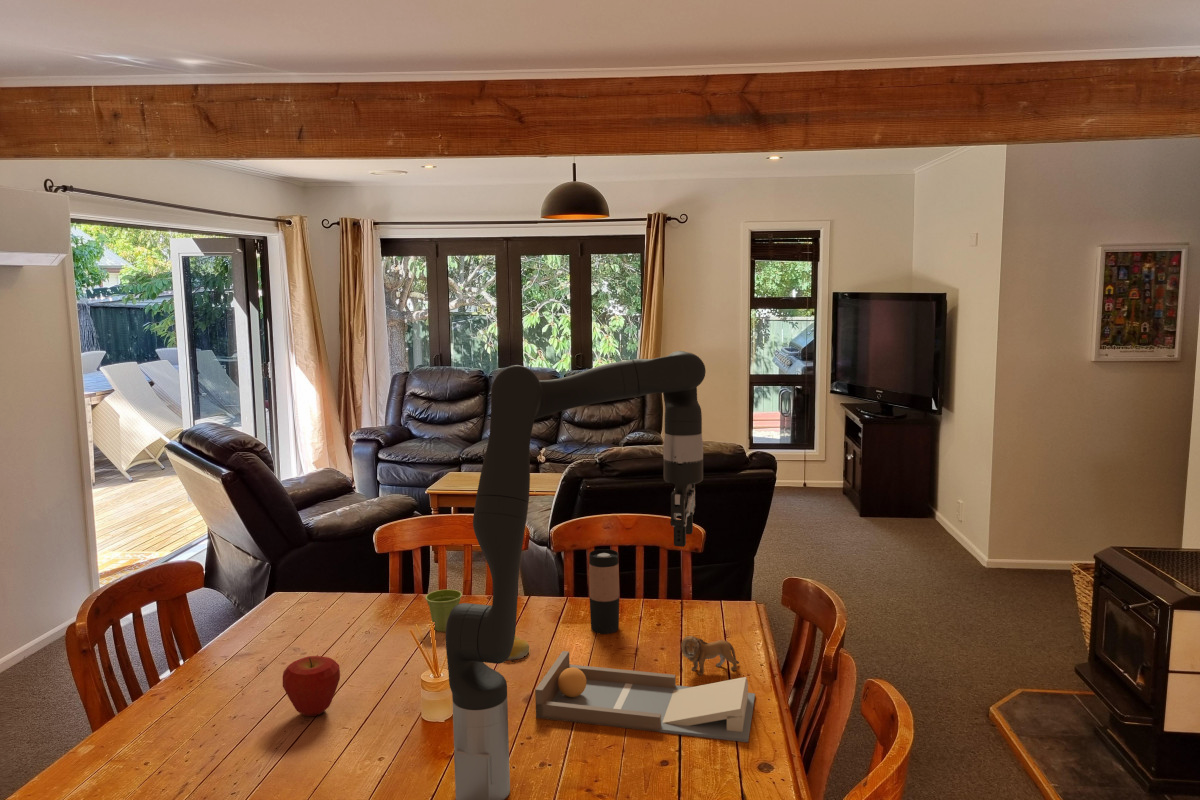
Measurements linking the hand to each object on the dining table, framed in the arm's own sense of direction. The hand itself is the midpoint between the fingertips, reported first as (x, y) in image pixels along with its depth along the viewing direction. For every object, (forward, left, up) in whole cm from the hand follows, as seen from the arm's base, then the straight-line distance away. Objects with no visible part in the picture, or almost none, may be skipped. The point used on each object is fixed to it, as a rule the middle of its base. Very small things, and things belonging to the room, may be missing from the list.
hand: (683, 539), depth 158 cm
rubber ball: (+6, +25, -34) cm, 43 cm away
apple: (-12, +75, -38) cm, 85 cm away
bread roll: (+25, +46, -38) cm, 65 cm away
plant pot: (+36, +68, -38) cm, 86 cm away
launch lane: (+6, +8, -39) cm, 40 cm away
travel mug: (+44, +27, -38) cm, 64 cm away
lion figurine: (+25, -2, -38) cm, 46 cm away
